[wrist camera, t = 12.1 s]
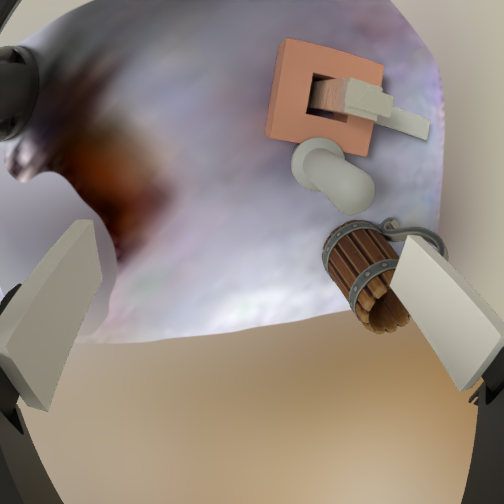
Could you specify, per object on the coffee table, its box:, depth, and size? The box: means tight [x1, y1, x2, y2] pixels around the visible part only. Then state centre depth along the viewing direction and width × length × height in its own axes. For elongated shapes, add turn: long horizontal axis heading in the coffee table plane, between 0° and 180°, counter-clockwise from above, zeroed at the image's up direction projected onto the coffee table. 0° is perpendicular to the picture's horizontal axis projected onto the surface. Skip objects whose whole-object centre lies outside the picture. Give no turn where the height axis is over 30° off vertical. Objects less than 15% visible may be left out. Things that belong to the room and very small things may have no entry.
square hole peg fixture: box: [265, 38, 431, 215], centre depth 29 cm, size 22×17×16 cm
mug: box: [322, 217, 448, 334], centre depth 38 cm, size 16×11×15 cm
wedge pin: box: [307, 77, 394, 121], centre depth 27 cm, size 4×3×15 cm
